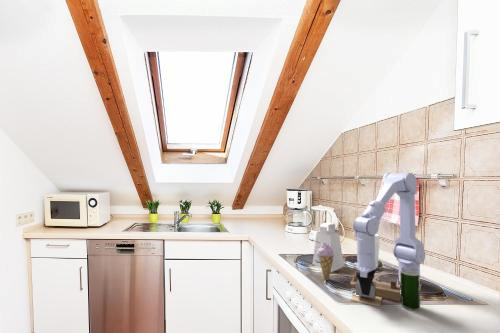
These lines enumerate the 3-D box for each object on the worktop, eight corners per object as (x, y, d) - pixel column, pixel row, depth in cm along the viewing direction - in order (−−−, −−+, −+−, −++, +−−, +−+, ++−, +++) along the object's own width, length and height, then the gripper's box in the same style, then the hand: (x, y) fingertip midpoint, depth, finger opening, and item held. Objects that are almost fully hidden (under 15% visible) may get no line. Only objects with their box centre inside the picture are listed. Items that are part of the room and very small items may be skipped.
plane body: (353, 285, 107) (353, 271, 107) (400, 293, 99) (399, 278, 100) (350, 291, 101) (350, 276, 101) (399, 301, 93) (399, 285, 93)
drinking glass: (367, 263, 133) (367, 232, 134) (382, 267, 128) (381, 234, 129) (361, 266, 128) (360, 234, 129) (376, 270, 124) (375, 236, 124)
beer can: (404, 310, 87) (404, 272, 87) (398, 302, 92) (397, 266, 93) (423, 311, 86) (422, 273, 87) (415, 303, 92) (415, 267, 92)
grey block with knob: (357, 290, 98) (357, 277, 98) (376, 293, 95) (376, 280, 95) (355, 294, 94) (355, 281, 94) (375, 298, 91) (374, 284, 91)
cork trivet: (354, 293, 100) (354, 291, 100) (381, 298, 95) (381, 297, 96) (351, 300, 94) (351, 299, 94) (380, 306, 89) (380, 305, 89)
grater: (312, 266, 130) (311, 223, 130) (324, 261, 137) (324, 221, 137) (332, 271, 122) (331, 226, 123) (344, 266, 129) (343, 223, 130)
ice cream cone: (323, 283, 109) (323, 245, 109) (314, 278, 114) (313, 241, 115) (337, 280, 112) (336, 243, 112) (326, 275, 117) (326, 240, 118)
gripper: (356, 245, 103) (357, 282, 103) (350, 255, 91) (350, 297, 90) (377, 248, 100) (378, 286, 100) (373, 258, 87) (374, 302, 87)
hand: (366, 291), depth 95 cm, fingers closed on grey block with knob, 4 cm apart
